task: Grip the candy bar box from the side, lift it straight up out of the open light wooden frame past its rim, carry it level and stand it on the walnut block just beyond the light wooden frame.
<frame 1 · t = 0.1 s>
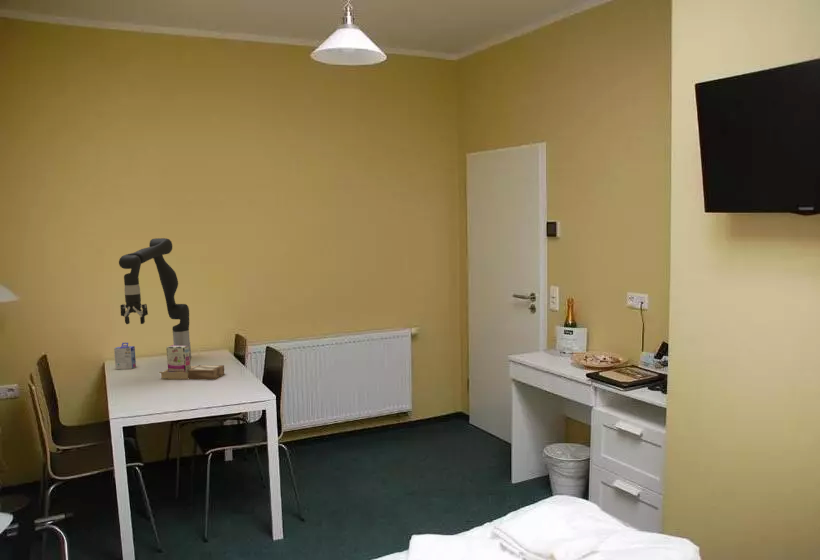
hand: (135, 323, 342), 29 cm above the table, tool pointing down, fingers open, 8 cm apart
stand: (206, 376, 343), on the table
light wooden frame: (179, 376, 346), on the table
ink cartridge box: (126, 368, 369), on the table
candy bar box: (179, 376, 346), resting in light wooden frame
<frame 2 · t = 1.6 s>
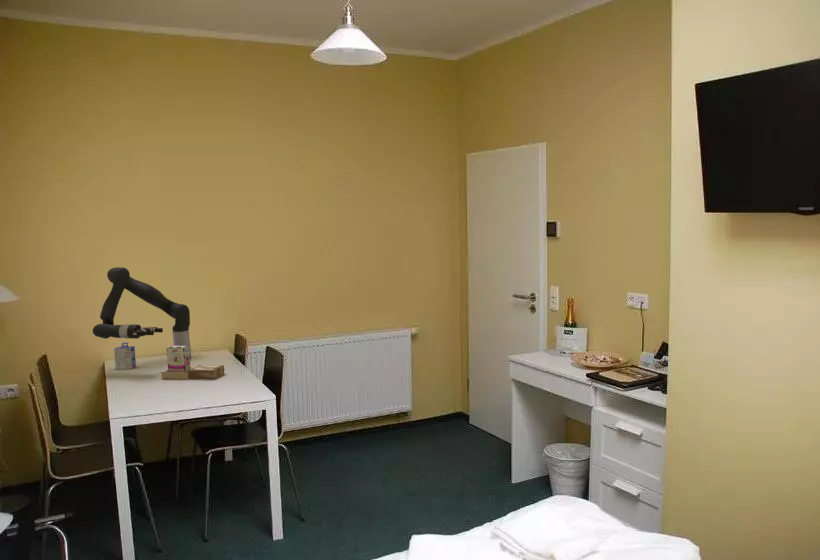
hand: (158, 331, 345), 24 cm above the table, tool horizontal, fingers open, 8 cm apart
nothing on the table moved.
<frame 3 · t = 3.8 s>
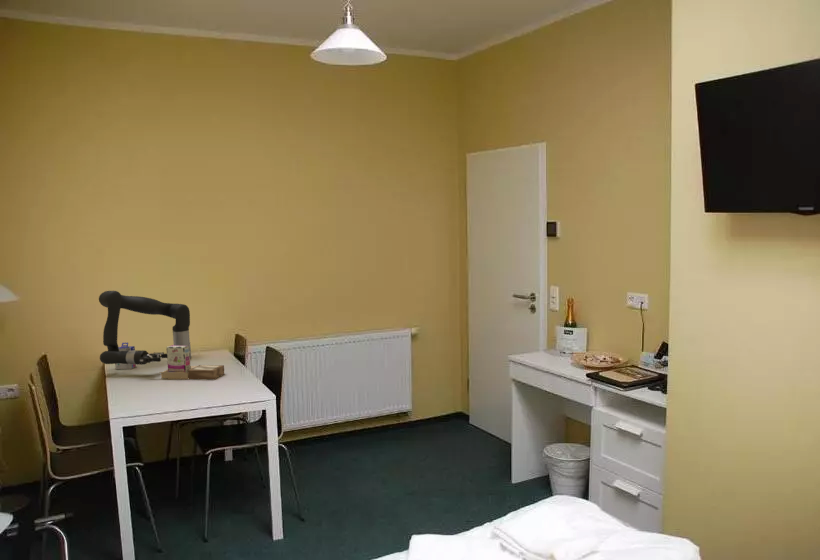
hand: (164, 357, 346), 10 cm above the table, tool horizontal, fingers open, 8 cm apart
nothing on the table moved.
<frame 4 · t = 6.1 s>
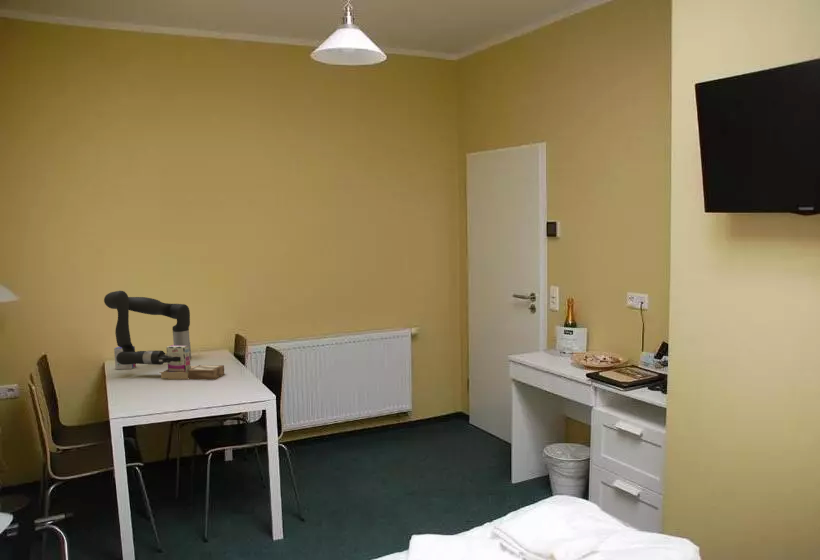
hand: (183, 357, 344), 10 cm above the table, tool horizontal, fingers closed on candy bar box, 5 cm apart
candy bar box: (179, 376, 346), resting in light wooden frame, touching gripper
everything else where it was.
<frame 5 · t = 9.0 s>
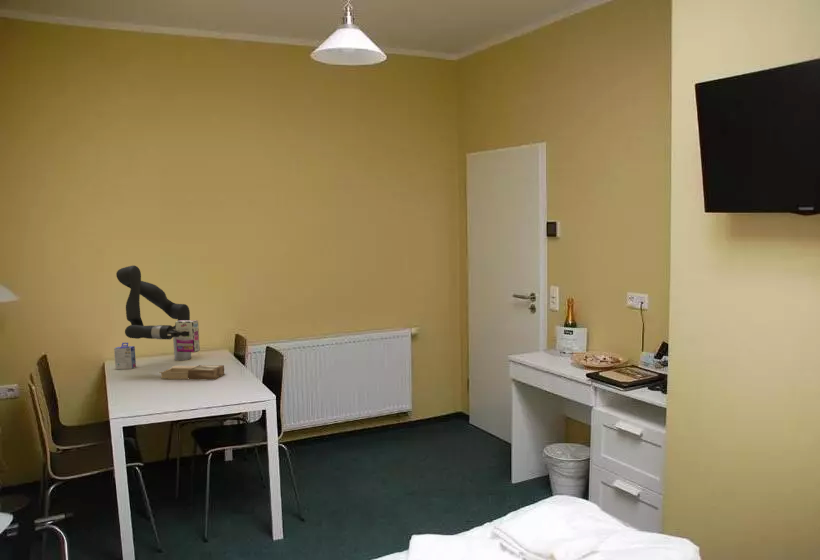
hand: (191, 332, 341), 24 cm above the table, tool horizontal, fingers closed on candy bar box, 5 cm apart
candy bar box: (188, 351, 343), point 13 cm above the table, touching gripper
everything else where it was.
when the fingers open (16 cm above the table, at t = 11.8 s): candy bar box stays where it is, resting on stand.
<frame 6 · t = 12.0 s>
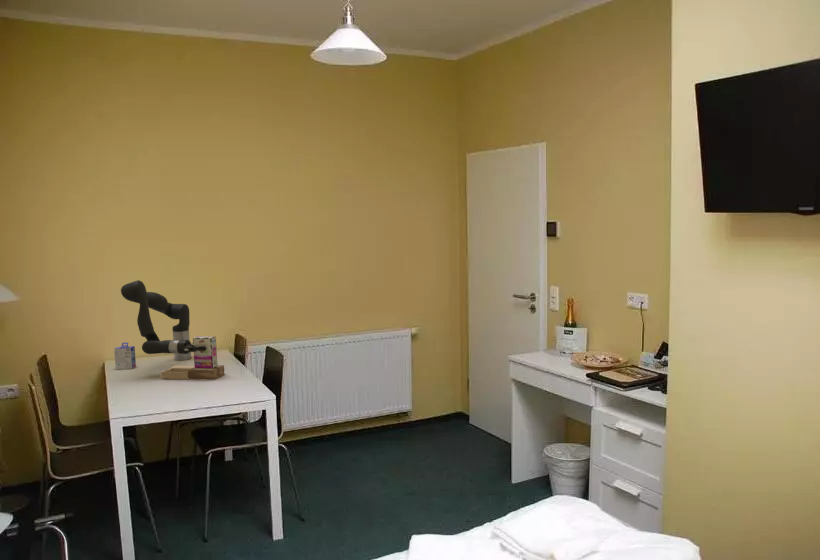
hand: (208, 347, 341), 16 cm above the table, tool horizontal, fingers open, 6 cm apart
candy bar box: (206, 367, 342), point 5 cm above the table, touching stand
everything else where it was.
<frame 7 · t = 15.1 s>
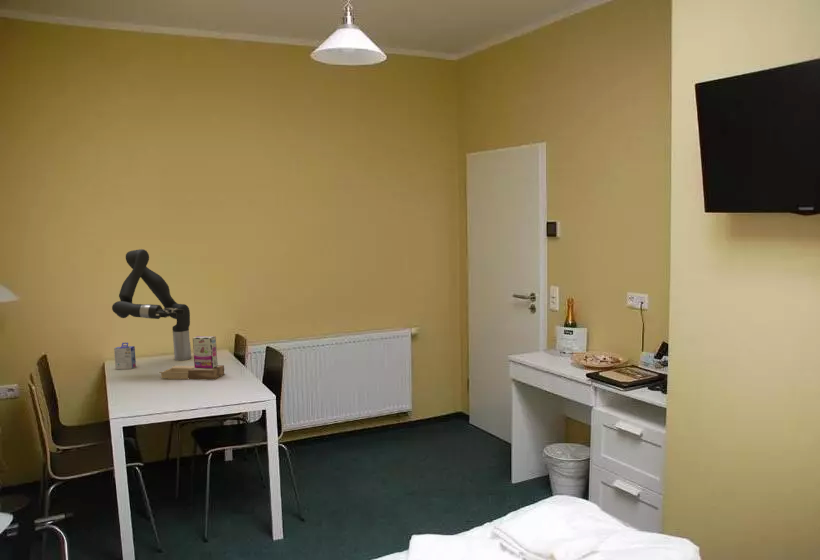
hand: (180, 313, 344), 34 cm above the table, tool horizontal, fingers open, 8 cm apart
nothing on the table moved.
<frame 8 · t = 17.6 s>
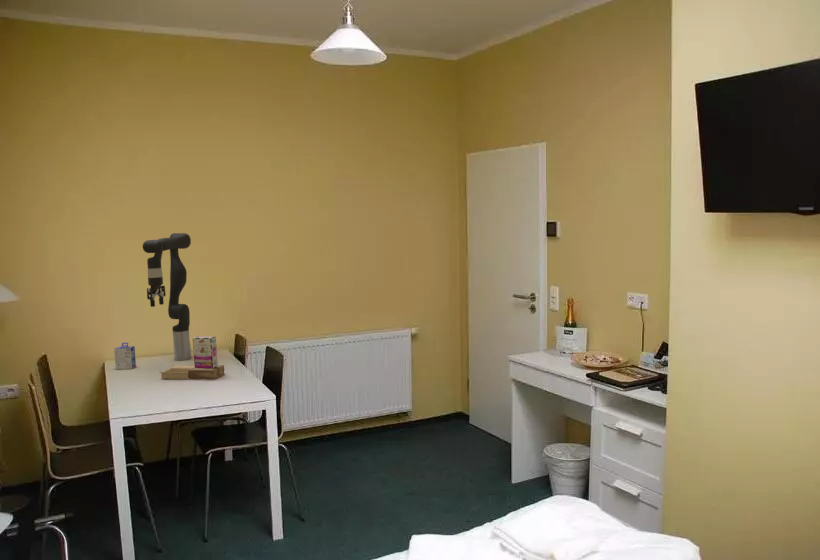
hand: (157, 305, 359), 36 cm above the table, tool pointing down, fingers open, 8 cm apart
nothing on the table moved.
at the end: candy bar box inside the target area on the stand (0.2 cm from its centre), point 4.8 cm above the stand's base; candy bar box tilted 0°; the gripper is holding nothing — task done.
